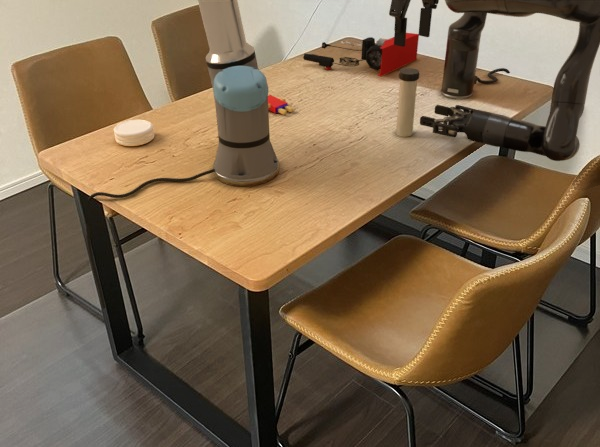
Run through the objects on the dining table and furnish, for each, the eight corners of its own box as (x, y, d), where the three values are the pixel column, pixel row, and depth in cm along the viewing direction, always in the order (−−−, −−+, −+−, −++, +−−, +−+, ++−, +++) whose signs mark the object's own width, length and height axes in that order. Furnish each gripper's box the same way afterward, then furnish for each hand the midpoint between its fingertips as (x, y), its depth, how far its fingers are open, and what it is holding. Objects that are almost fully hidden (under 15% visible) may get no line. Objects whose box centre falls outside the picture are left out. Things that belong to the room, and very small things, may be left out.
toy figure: (297, 104, 175) (269, 91, 182) (279, 110, 172) (251, 97, 178) (297, 112, 177) (269, 99, 184) (279, 119, 173) (251, 105, 180)
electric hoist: (302, 34, 206) (381, 48, 191) (344, 20, 225) (419, 32, 210) (301, 64, 211) (379, 80, 196) (343, 48, 230) (416, 62, 215)
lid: (395, 78, 154) (395, 71, 153) (405, 73, 158) (406, 66, 157) (412, 82, 152) (412, 75, 151) (422, 77, 155) (423, 70, 154)
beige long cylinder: (393, 134, 162) (397, 73, 154) (401, 128, 165) (406, 69, 156) (406, 138, 160) (412, 76, 151) (415, 132, 163) (421, 72, 154)
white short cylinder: (127, 150, 156) (124, 137, 154) (108, 138, 162) (106, 125, 160) (161, 139, 161) (159, 126, 159) (142, 127, 168) (140, 115, 166)
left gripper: (433, -68, 147) (424, 28, 159) (376, -56, 133) (371, 48, 145) (461, -65, 142) (450, 33, 154) (405, -53, 129) (397, 54, 141)
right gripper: (503, 104, 151) (441, 91, 159) (481, 124, 141) (416, 109, 149) (498, 133, 155) (438, 118, 163) (476, 154, 145) (414, 138, 153)
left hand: (411, 40), depth 150 cm, fingers open, 10 cm apart
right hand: (428, 114), depth 156 cm, fingers open, 8 cm apart
